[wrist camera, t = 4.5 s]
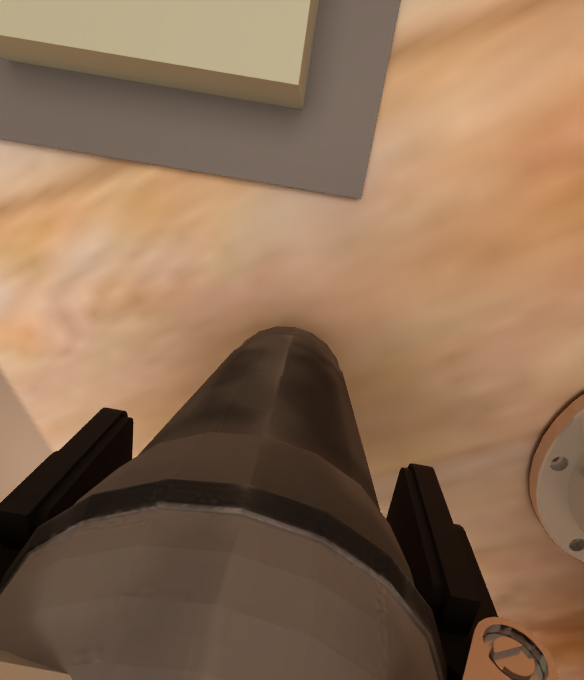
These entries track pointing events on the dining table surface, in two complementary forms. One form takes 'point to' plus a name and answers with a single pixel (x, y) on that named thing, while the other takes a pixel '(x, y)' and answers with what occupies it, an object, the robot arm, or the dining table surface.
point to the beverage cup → (230, 545)
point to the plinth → (225, 123)
